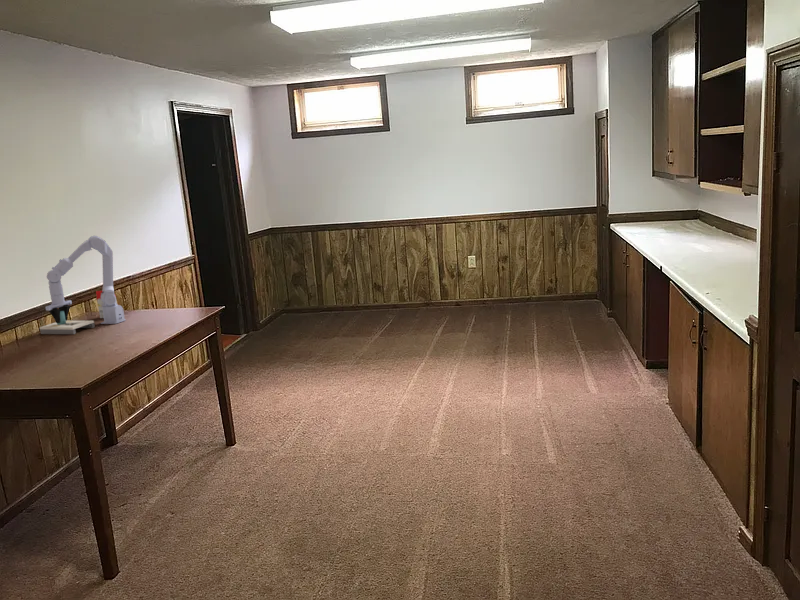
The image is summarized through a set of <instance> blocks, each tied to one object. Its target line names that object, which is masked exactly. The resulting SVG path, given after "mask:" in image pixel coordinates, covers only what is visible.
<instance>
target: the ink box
mask: <svg viewBox="0 0 800 600" xmlns="http://www.w3.org/2000/svg"><path fill="white" fill-rule="evenodd" d="M95 294H96V301H97V309H98V313H99V319H104V316H103V310H102V304H103V302H102V300H101V294H102V290H96V291H95ZM114 294H115V296H116V293H114ZM116 297H117V296H116ZM117 300H118V299H116V303H117V304H118V301H117Z"/></svg>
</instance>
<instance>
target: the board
mask: <svg viewBox="0 0 800 600" xmlns="http://www.w3.org/2000/svg"><path fill="white" fill-rule="evenodd" d="M81 328H82V329H85V328H86V329H88V328H89V329H91V328H92V329H93V328H95V320H67V321H66V323H65V324H64V325H60V324H59V325H58V324H57V323H56V322H52V323H49V324H47V325H46V324H45V325H42V326H39V331H40V334H41V335H75V334H77V331H76V329H81Z"/></svg>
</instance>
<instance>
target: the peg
mask: <svg viewBox="0 0 800 600" xmlns="http://www.w3.org/2000/svg"><path fill="white" fill-rule="evenodd" d="M65 323H66V319H65V313H64V311H60V323H57V324H58V325H59V324H60V325H64V324H65Z"/></svg>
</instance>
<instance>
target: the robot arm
mask: <svg viewBox="0 0 800 600" xmlns="http://www.w3.org/2000/svg"><path fill="white" fill-rule="evenodd" d="M93 249H94V250H96V251H97V252H98V253H100V254H101V255H102V258H101V259H102V289H101V291H102V293H101V300H102V302H103V304H102V310H103V316H104V318H103V321H102V322H100V324H101V325H103V324H104V325H109V324H110V325H116V324H119V323H122V322H125V321H126V320H127V319H125V318H126V317H125V312H124V308H123V305H120V304H118V302H117V303H116V300H117V296H115V294H116V293H115V289H114V256H113V255H114V254H113V250H112V249H111V247H110V246H109V244H108V243H107V242H106V240H104V239H103V238H102V237H100V236H97V235H91V236H90V237H89V238H88V239H86V240H84V241H83V242H82V243H81V244H80V245H79V246H78V247H77V248H76V249H75V250H74V251H73V252H72V253H71V254H70V255H69V256H68V257H64V258H62V259H59V261H58V263H57V264H56V265H55V266H52V267H51V270H49V271H48V272H47V274H46V279H47V280H48V285H49V286H48V288H49V295H50V299H51V301H50V302H51V303H50V304H49V305H46V306H45V311H46V312H47V311H48V312H49V314H51V316H52V318H53V320H54V321H55V322H54V323H60V311H64V313H65V319H66V321H68V316H69V311H70V309H71V305H72V304H73V303H72V300H71V299H69V300H68V299H67V300H65V295H64V289H63V284H62V280H61V279H62V277H63V276H64V275H66V274H67V273H68V272H69V271H70V270H71V269H72V268H73V267H74V262H75V261H77V260H78V259H79V258H80V257H81V256H82V255H83V254H85V252H90V251H92V250H93Z"/></svg>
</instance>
